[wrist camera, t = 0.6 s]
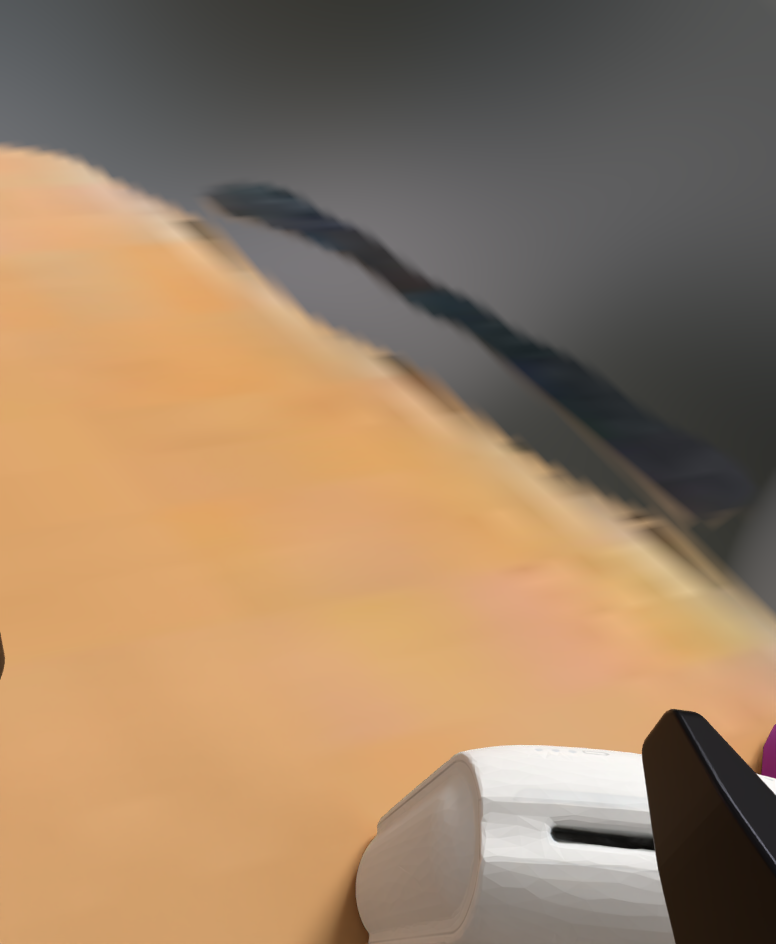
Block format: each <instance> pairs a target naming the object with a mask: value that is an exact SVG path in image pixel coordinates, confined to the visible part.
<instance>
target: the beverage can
mask: <svg viewBox="0 0 776 944" xmlns="http://www.w3.org/2000/svg"><path fill="white" fill-rule="evenodd" d="M761 775H763V776H767V777H771V778H775V779H776V724H775V725H774V727H773V729H772V731H771V733H770V735H769V737H768V739H767V741H766V743H765V745H764V747H763V760H762V773H761Z"/></svg>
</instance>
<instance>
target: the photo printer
mask: <svg viewBox="0 0 776 944" xmlns="http://www.w3.org/2000/svg"><path fill="white" fill-rule="evenodd" d="M757 775H758V776H759V777H760V778H761V779H762V781H763V782H764V783H765V784H766V785H767V786H768V787H769V788H770V789H771V790H772V791H773V792H774V793H775V795H776V779H775V778H771V777H767V776H763V775H760V774H757ZM356 901H357V907H358V911H359V915H360V918H361V920H362V923H363V925H364V927H365V929H366V930H367V931H368V933H369V941H368V944H675V940H674V935H673V931H672V927H671V923H670V919H669V915H668V911H667V906H666V902H665V898H664V894H663V890H662V885H661V881H660V876H659V872H658V867H657V861H656V855H655V849H654V841H653V834H652V827H651V820H650V813H649V806H648V799H647V791H646V784H645V777H644V770H643V763H642V754H636V753H628V752H620V751H609V750H599V749H587V748H576V747H560V746H543V745H509V746H496V747H487V748H480V749H473V750H468V751H464V752H460V753H457V754H455V755H454V756H453V757H452V758H451V759H450V760H449V761H447V762H446V763H444V764H443V765H442V766H441V767H440V768H438V769H437V770H436V771H435V772H434V773H433V774H431V775H430V776H429V777H428V778H427V779H425V780H424V781H423V782H422V783H421V784H419V785H418V786H417V787H416V788H415V789H414V790H412V791H411V792H410V793H409V794H408V795H407V796H406V797H404V798H403V799H402V800H401V801H400V802H399V803H397V804H396V805H395V806H394V807H393V808H391V809H390V810H389V811H388V812H387V813H386V814H385V815H384V816H383V817H382V818H381V819H380V821H379V823H378V825H377V835H376V837H375V838H374V839H373V840H372V841H371V842H370V844H369V845H368V847H367V848H366V850H365V852H364V854H363V856H362V858H361V861H360V864H359V867H358V872H357V877H356Z"/></svg>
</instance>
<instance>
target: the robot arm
mask: <svg viewBox="0 0 776 944" xmlns="http://www.w3.org/2000/svg"><path fill="white" fill-rule="evenodd" d="M4 664H5V656H4V650H3V645H2V639H1V634H0V679H1V676H2V673H3V669H4ZM642 763H643V770H644V777H645V784H646V791H647V799H648V806H649V813H650V820H651V827H652V834H653V841H654V849H655V855H656V861H657V867H658V872H659V876H660V881H661V885H662V890H663V894H664V898H665V902H666V906H667V911H668V915H669V919H670V923H671V927H672V931H673V935H674V940H675V944H776V795H775V793H774V792H773V791H772V790H771V789H770V788H769V787H768V786H767V785H766V784H765V783H764V782H763V781H762V779H761V778H760V777H759V776H758V775H757V774H756V773H755V772H754V771H753V770H752V769H751V768H750V767H749V765H748V764H747V763H746V762H745V761H744V760H743V759H742V758H741V757H740V756H739V755H738V754H737V753H736V751H735V750H734V749H733V748H732V747H731V746H730V745H729V744H728V743H727V742H726V741H725V740H724V739H723V738H722V736H721V735H720V734H719V733H718V732H717V731H716V730H715V729H714V728H713V727H712V726H711V725H710V724H709V722H708V721H707V720H706V719H705V718H704V717H702V716H701V715H700V714H698V713H696V712H692V711H684V710H677V709H671V710H668V711H667V712H665V714H664V715H663V716H662V717H661V719H660V720H659V721H658V723H657V724H656V726H655V727H654V728H653V730H652V731H651V732H650V734H649V735H648V736H647V738H646V739H645V741H644V744H643V748H642Z"/></svg>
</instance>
